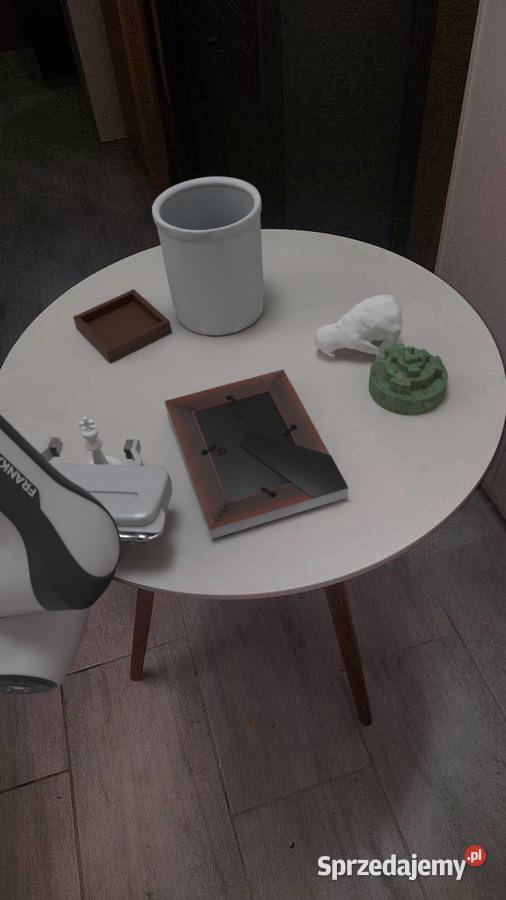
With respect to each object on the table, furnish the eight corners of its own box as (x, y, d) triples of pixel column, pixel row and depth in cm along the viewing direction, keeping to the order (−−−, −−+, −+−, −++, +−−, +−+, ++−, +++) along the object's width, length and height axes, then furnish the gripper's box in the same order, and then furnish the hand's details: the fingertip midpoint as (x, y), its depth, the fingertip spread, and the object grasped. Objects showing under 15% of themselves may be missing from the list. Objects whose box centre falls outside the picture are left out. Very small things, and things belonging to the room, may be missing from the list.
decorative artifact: (420, 355, 96) (355, 374, 94) (427, 314, 90) (359, 334, 88) (459, 401, 89) (390, 423, 87) (469, 360, 84) (396, 383, 82)
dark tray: (110, 363, 98) (107, 352, 96) (76, 327, 104) (72, 316, 102) (172, 332, 102) (170, 321, 100) (136, 299, 108) (133, 288, 106)
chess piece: (84, 462, 86) (62, 406, 78) (123, 455, 86) (105, 399, 79) (84, 493, 82) (62, 437, 75) (125, 485, 83) (107, 429, 75)
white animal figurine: (406, 311, 88) (314, 325, 89) (405, 360, 95) (319, 373, 95) (396, 282, 92) (308, 296, 93) (396, 331, 99) (313, 343, 100)
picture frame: (347, 499, 80) (283, 381, 93) (348, 486, 78) (283, 368, 92) (212, 541, 77) (167, 413, 91) (209, 528, 75) (164, 399, 89)
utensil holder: (151, 308, 106) (130, 204, 93) (224, 268, 112) (213, 164, 99) (212, 352, 98) (198, 245, 85) (286, 306, 104) (284, 199, 91)
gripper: (156, 526, 68) (177, 425, 77) (-39, 519, 70) (4, 421, 79) (166, 560, 73) (185, 461, 82) (-18, 552, 75) (20, 456, 84)
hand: (94, 441), depth 81 cm, fingers open, 8 cm apart
